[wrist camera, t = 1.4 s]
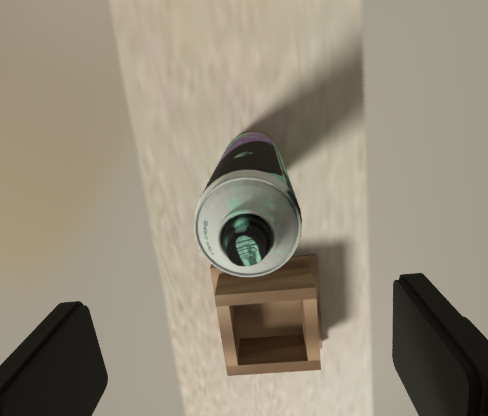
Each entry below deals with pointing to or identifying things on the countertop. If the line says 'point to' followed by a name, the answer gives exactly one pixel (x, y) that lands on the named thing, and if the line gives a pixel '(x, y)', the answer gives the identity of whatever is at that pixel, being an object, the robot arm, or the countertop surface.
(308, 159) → the countertop surface
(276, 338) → the can holder
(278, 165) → the spray can
